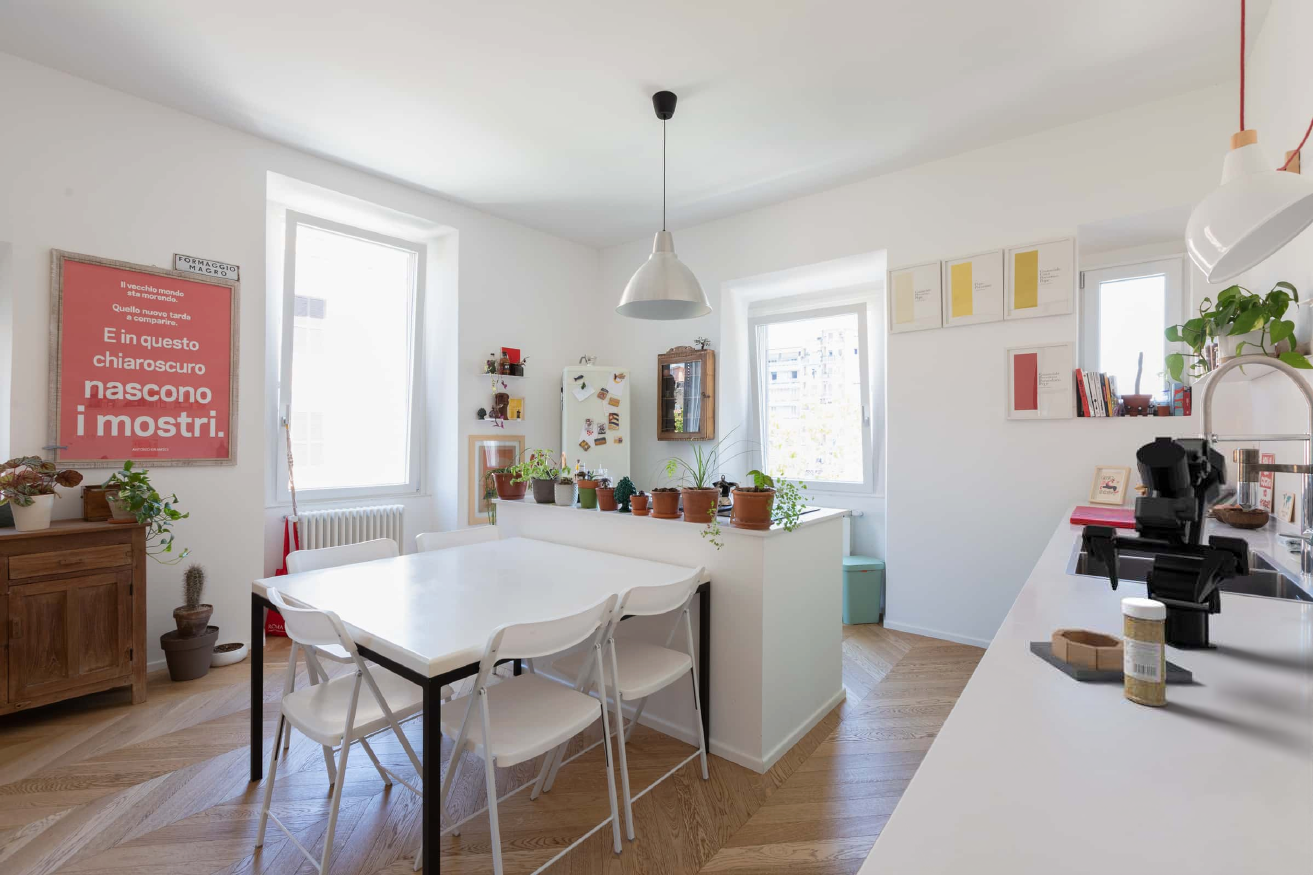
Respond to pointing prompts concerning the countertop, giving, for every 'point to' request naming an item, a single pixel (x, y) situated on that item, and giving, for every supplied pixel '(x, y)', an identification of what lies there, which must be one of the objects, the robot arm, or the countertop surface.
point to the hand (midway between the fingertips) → (1153, 594)
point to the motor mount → (1094, 656)
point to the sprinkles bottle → (1144, 651)
